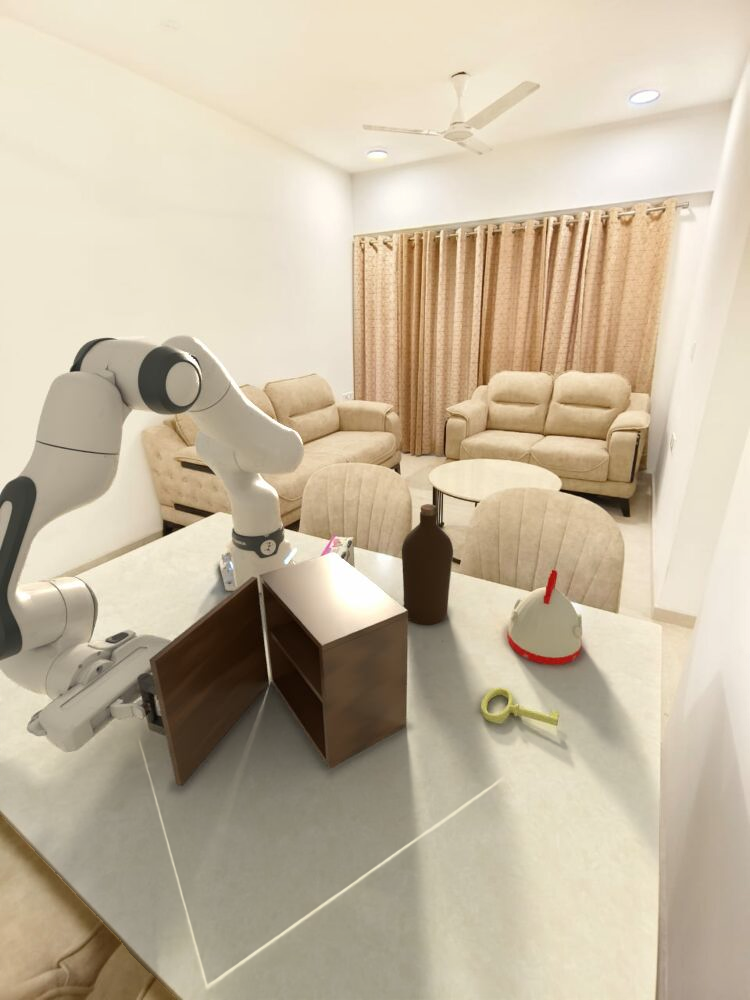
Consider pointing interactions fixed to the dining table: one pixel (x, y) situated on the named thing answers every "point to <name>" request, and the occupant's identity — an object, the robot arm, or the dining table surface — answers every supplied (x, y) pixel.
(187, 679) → the door
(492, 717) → the key
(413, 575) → the olive oil
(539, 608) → the kitchen timer
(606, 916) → the dining table surface
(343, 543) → the candy bar box
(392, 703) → the cupboard
